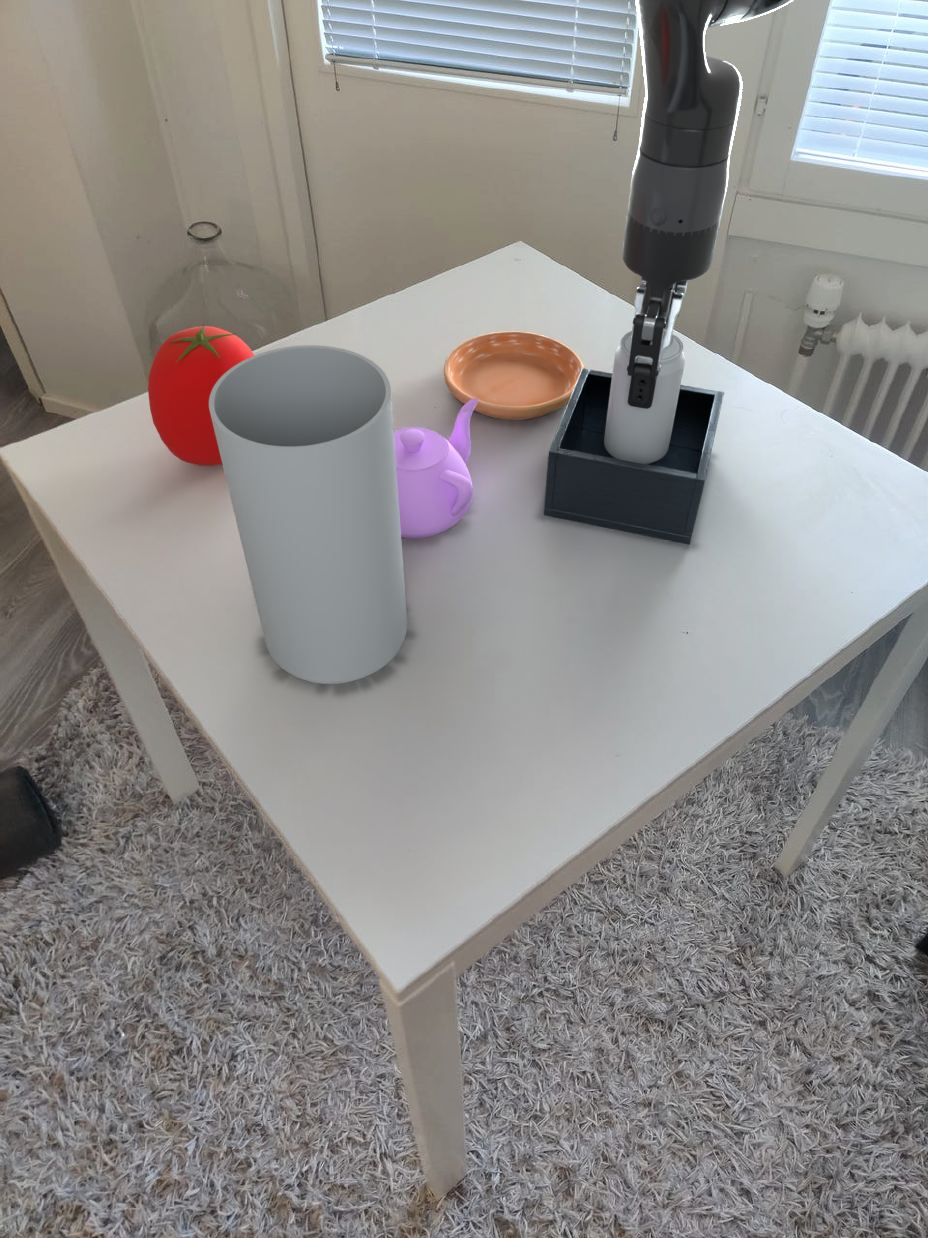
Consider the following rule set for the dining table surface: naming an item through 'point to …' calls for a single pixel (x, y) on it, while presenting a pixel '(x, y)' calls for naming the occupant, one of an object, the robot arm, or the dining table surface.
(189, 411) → the tomato
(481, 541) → the dining table surface
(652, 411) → the beverage can
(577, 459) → the dark gray open box
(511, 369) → the saucer
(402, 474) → the teapot
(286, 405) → the cylinder vase
